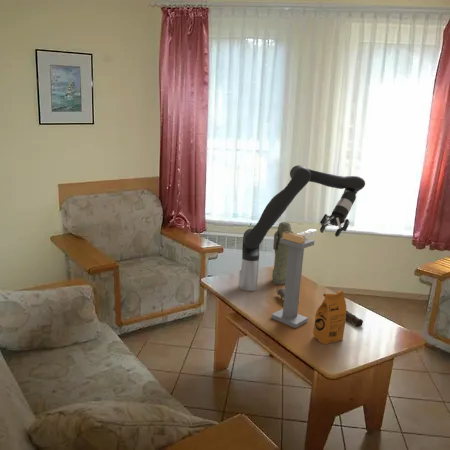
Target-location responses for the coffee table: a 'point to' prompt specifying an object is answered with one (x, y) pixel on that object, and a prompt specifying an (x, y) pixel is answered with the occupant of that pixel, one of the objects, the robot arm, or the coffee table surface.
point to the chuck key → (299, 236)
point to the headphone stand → (293, 285)
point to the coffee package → (330, 318)
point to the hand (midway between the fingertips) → (328, 233)
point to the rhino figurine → (281, 292)
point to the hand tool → (354, 319)
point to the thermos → (280, 255)
